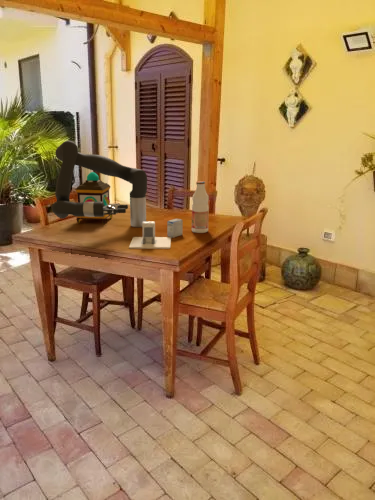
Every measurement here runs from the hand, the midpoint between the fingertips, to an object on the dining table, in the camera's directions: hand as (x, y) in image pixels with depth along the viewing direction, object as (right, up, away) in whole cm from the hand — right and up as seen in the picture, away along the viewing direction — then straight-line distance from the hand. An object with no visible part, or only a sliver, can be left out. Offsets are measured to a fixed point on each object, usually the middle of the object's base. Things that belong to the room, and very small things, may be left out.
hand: (126, 208), depth 203 cm
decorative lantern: (-27, -2, +52) cm, 58 cm away
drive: (+11, -16, +5) cm, 20 cm away
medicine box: (+23, -13, +20) cm, 33 cm away
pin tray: (+12, -17, +5) cm, 21 cm away
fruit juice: (+37, -10, +30) cm, 49 cm away
